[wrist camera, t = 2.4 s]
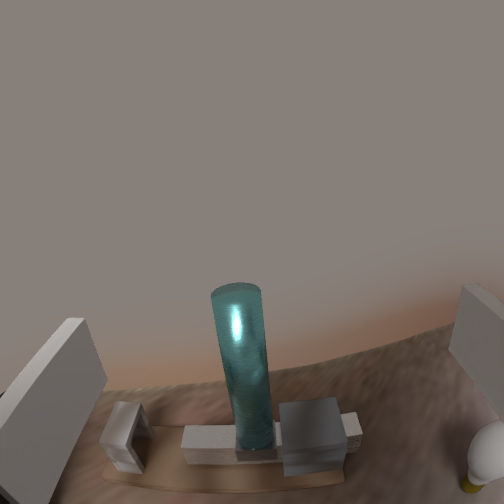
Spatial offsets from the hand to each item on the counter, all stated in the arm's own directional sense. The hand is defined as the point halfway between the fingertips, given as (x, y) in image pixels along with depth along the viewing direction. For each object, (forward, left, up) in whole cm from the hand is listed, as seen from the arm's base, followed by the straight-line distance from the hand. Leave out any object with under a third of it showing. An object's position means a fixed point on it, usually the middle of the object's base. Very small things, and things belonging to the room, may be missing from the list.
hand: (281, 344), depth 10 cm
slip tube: (+1, -12, -23) cm, 27 cm away
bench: (+7, -13, -25) cm, 29 cm away
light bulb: (-19, -2, -25) cm, 32 cm away
